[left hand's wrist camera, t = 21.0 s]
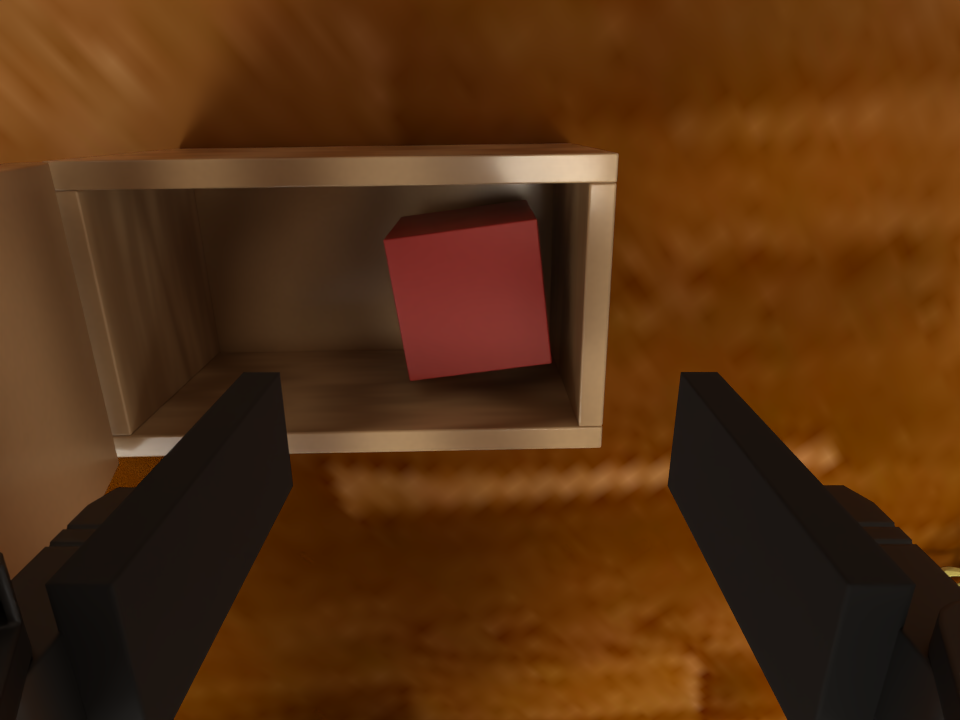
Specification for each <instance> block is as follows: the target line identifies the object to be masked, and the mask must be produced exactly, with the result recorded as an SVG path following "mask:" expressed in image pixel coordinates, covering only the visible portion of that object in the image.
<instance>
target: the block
mask: <svg viewBox="0 0 960 720" xmlns="http://www.w3.org/2000/svg"><path fill="white" fill-rule="evenodd" d="M383 242H384V248H385V253H386V258H387V264H388V269H389V274H390V280H391V285H392V290H393V296H394V301H395V306H396V311H397V317H398V322H399V327H400V333H401V338H402V343H403V349H404V354H405V359H406V365H407V370H408V375H409V380H410V381H415V380H423V379H431V378H439V377H447V376H455V375H463V374H471V373H479V372H487V371H495V370H503V369H511V368H519V367H527V366H535V365H543V364H550V363H552V357H551V347H550V337H549V327H548V318H547V308H546V298H545V288H544V279H543V269H542V259H541V249H540V240H539V230H538V220H537V218H536V217H535V215H534V213H533V211H532V209H531V207H530V206H529V204H528V202H527V200H520V201H513V202H505V203H498V204H491V205H484V206H476V207H469V208H462V209H455V210H447V211H440V212H433V213H426V214H418V215H411V216H404V217H401V218H400V219H399V221H398V222H397V223H396V224H395V226H394V227H393V228H392V230H391V231H390V232H389V233H388V235H387V236H386V237H385V239H384V240H383Z"/></svg>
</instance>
